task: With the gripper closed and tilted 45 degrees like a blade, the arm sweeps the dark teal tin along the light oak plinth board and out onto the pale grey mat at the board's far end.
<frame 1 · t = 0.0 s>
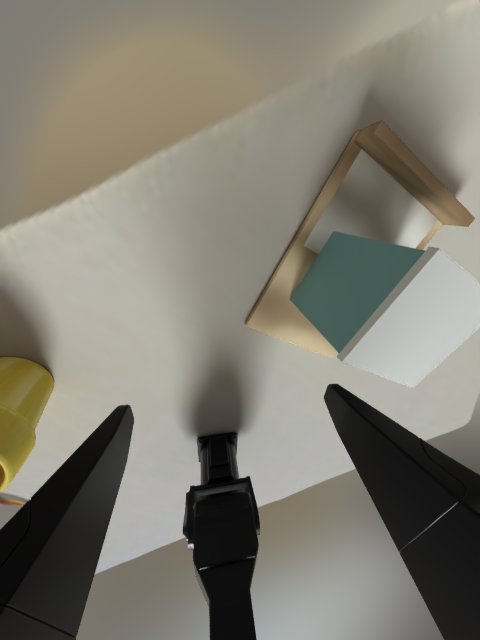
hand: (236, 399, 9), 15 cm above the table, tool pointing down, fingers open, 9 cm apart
tin: (337, 282, 24), point 1 cm above the table, touching plinth board
plant pot: (21, 377, 24), on the table
plinth board: (339, 272, 24), on the table
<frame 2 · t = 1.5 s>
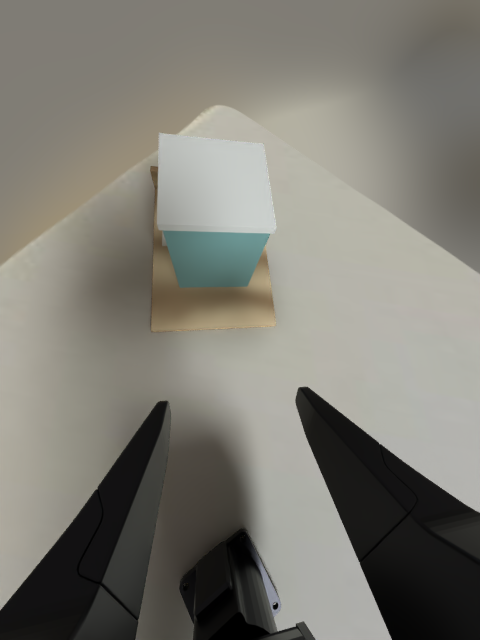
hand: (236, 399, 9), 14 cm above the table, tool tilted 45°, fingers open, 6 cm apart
tin: (212, 257, 26), point 1 cm above the table, touching plinth board
plinth board: (212, 253, 27), on the table
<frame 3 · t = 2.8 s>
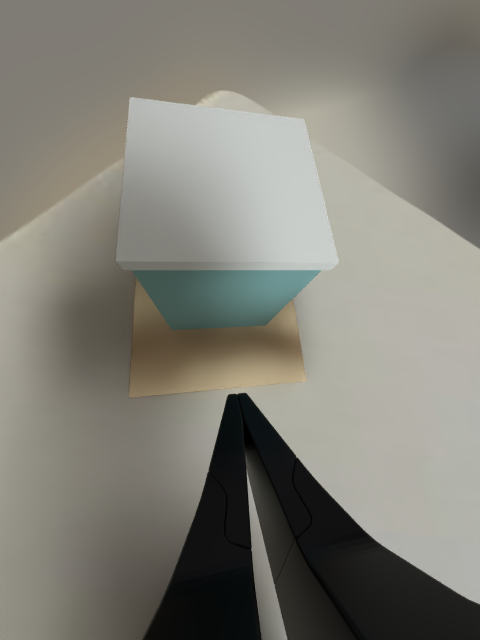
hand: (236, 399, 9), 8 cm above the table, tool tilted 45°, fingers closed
tin: (217, 285, 19), point 1 cm above the table, touching plinth board
plinth board: (216, 278, 20), on the table
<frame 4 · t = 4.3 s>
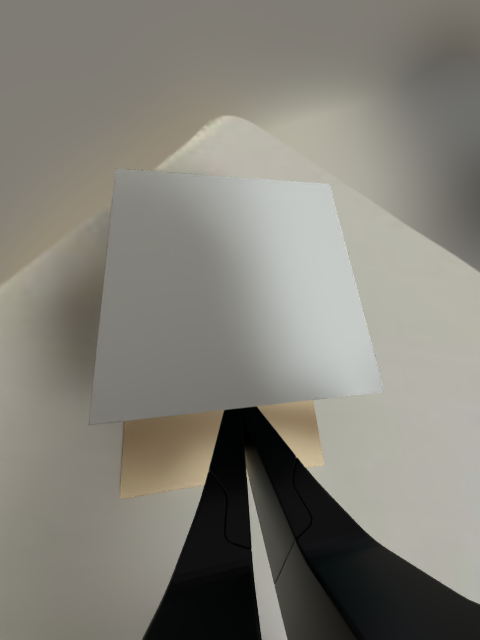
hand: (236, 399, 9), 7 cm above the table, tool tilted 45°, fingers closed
tin: (221, 337, 17), point 1 cm above the table, touching plinth board
plinth board: (220, 338, 18), on the table
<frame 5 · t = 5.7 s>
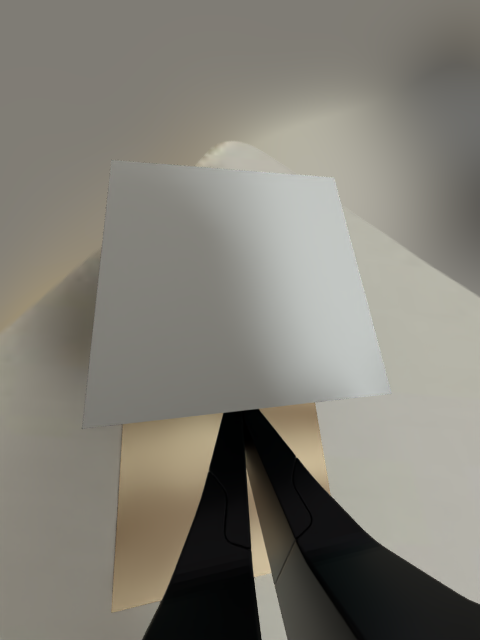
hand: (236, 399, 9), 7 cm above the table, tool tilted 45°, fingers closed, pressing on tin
tin: (221, 336, 17), point 1 cm above the table, touching gripper, plinth board
plinth board: (225, 404, 16), on the table
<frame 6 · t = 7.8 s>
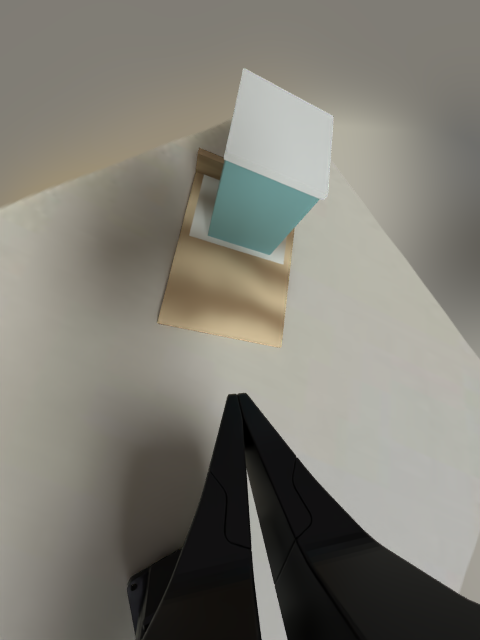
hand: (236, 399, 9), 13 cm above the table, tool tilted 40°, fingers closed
tin: (244, 217, 26), point 1 cm above the table, touching plinth board
plinth board: (236, 257, 26), on the table
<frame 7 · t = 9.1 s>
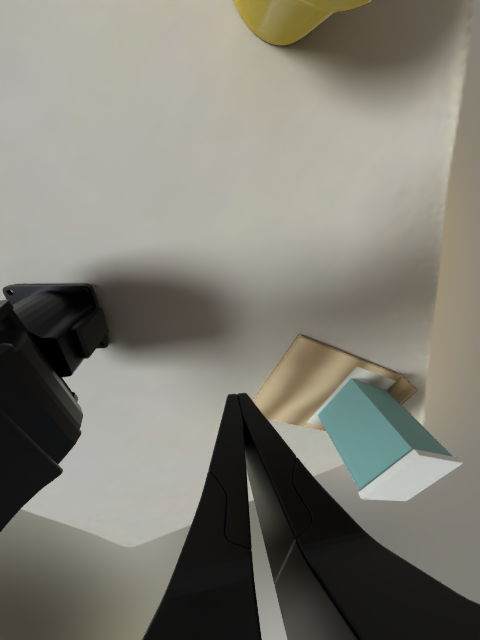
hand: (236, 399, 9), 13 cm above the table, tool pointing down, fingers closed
tin: (351, 402, 32), point 1 cm above the table, touching plinth board
plinth board: (325, 392, 31), on the table
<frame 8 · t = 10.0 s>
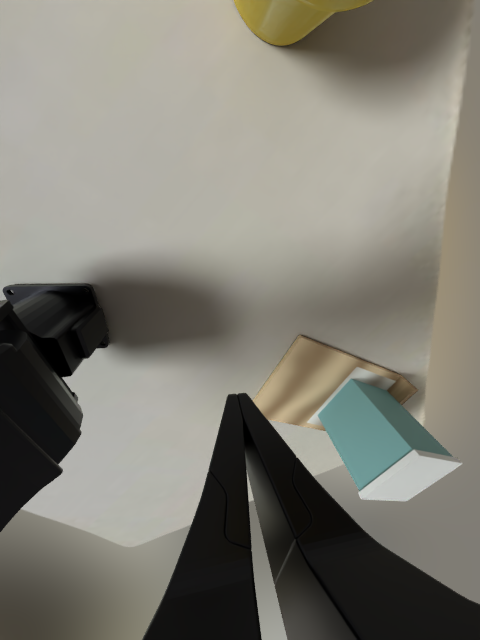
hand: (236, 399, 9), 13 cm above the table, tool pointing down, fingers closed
tin: (352, 402, 32), point 1 cm above the table, touching plinth board
plinth board: (325, 392, 31), on the table
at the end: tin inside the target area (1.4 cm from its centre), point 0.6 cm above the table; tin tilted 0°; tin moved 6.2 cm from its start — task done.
